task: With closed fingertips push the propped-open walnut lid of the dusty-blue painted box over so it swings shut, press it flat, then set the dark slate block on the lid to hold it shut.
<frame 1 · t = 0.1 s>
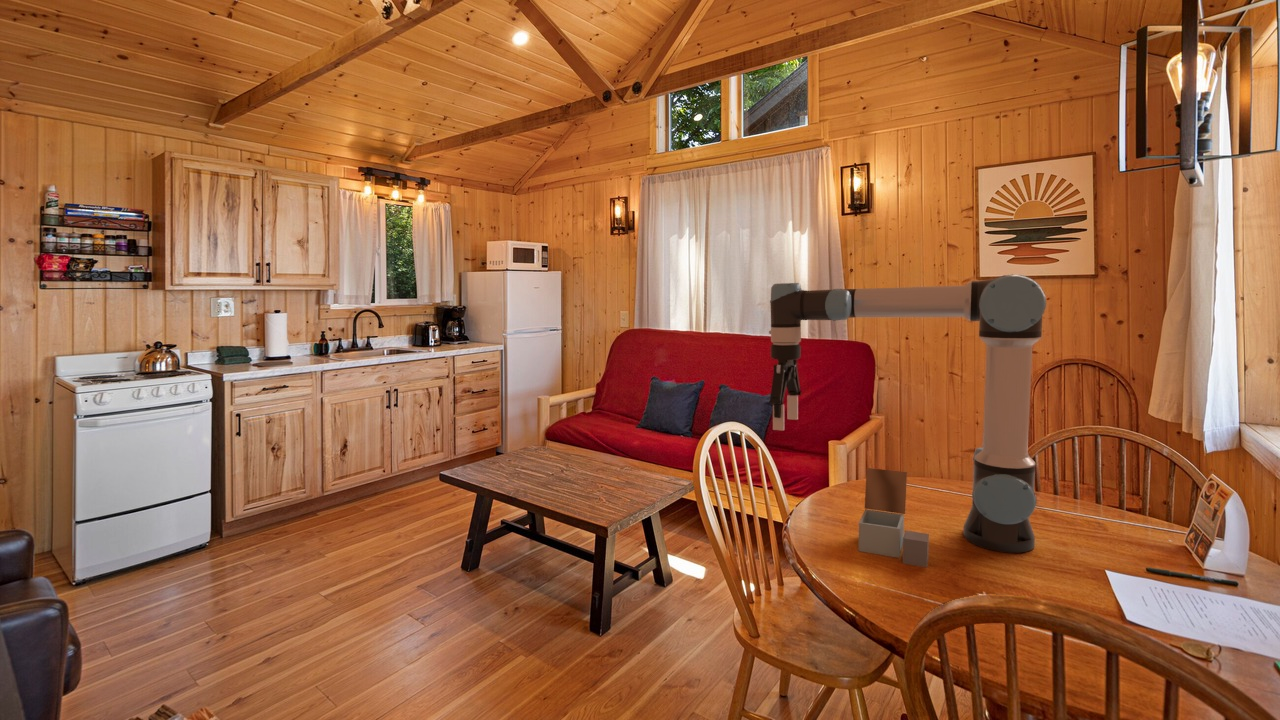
hand: (785, 424, 158), 28 cm above the table, fingers open, 13 cm apart
slate block: (915, 561, 139), on the table
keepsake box: (881, 546, 147), on the table
lid: (885, 490, 152), point 12 cm above the table, hinge at 105.0°
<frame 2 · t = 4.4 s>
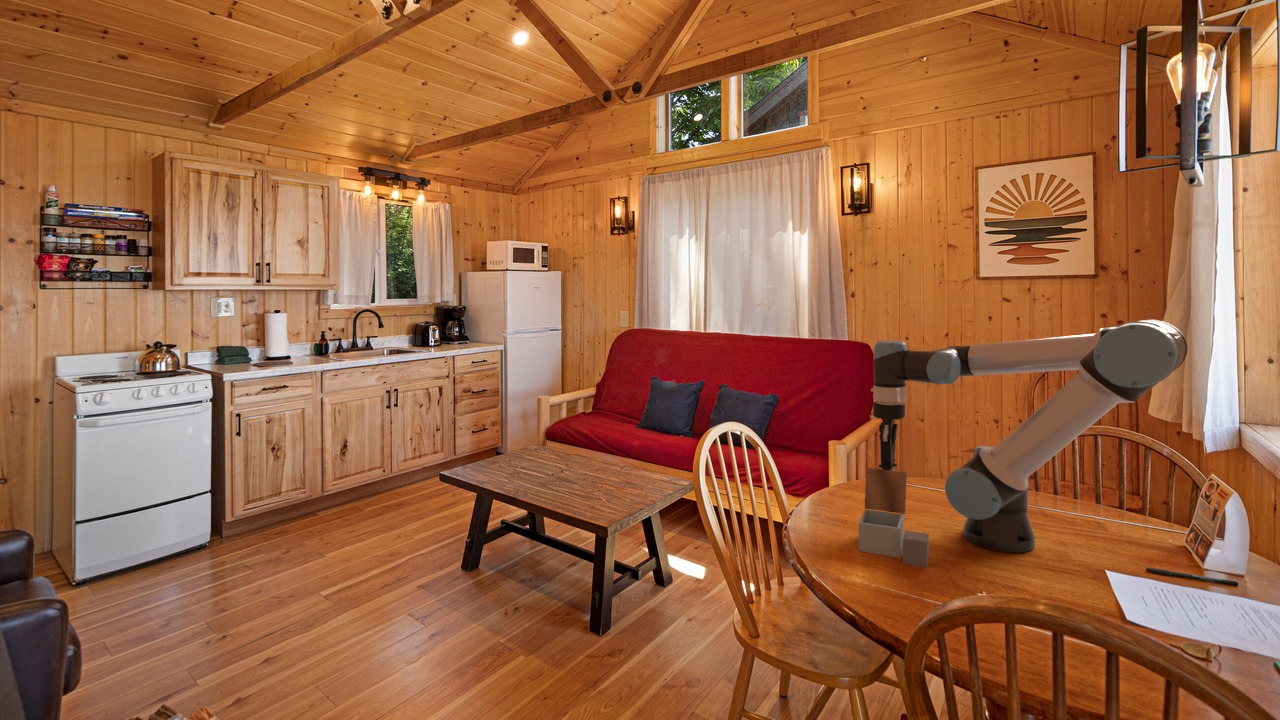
hand: (887, 491, 156), 10 cm above the table, fingers closed
lid: (885, 490, 152), point 12 cm above the table, hinge at 101.4°, touching gripper
everything else where it was.
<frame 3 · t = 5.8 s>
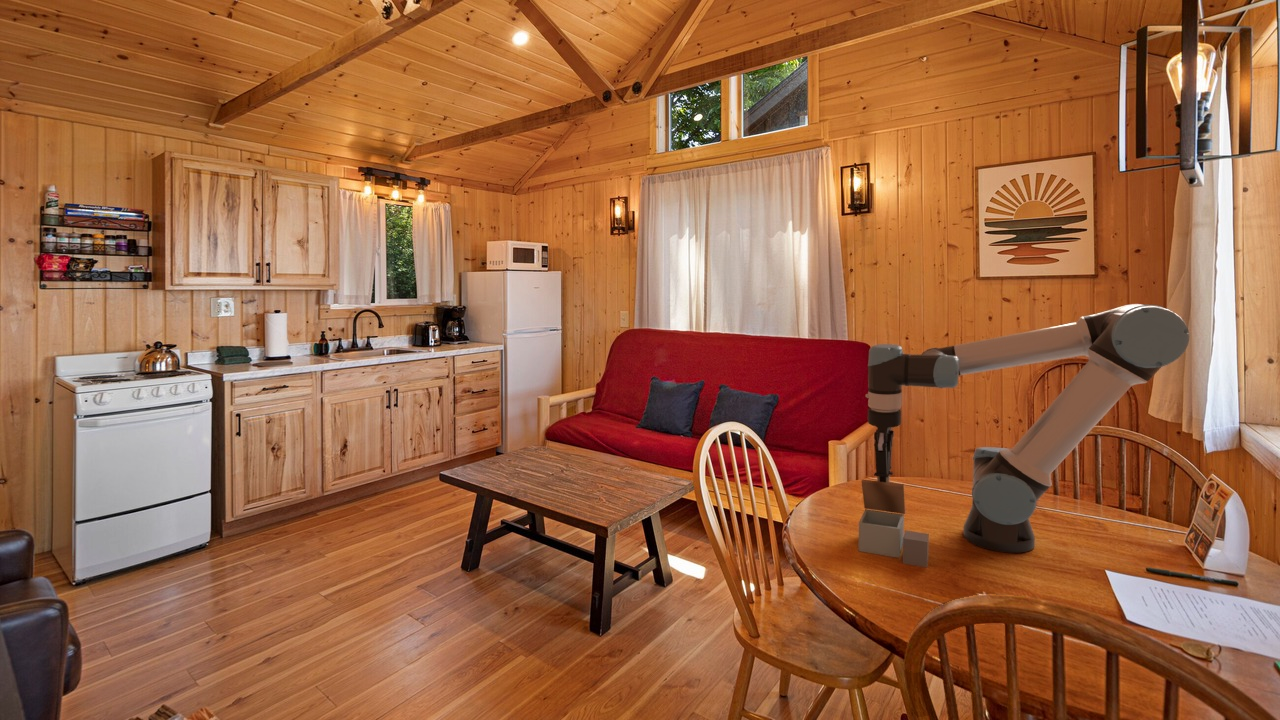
hand: (883, 500, 151), 10 cm above the table, fingers closed
lid: (883, 496, 148), point 12 cm above the table, hinge at 57.1°, touching gripper
everything else where it was.
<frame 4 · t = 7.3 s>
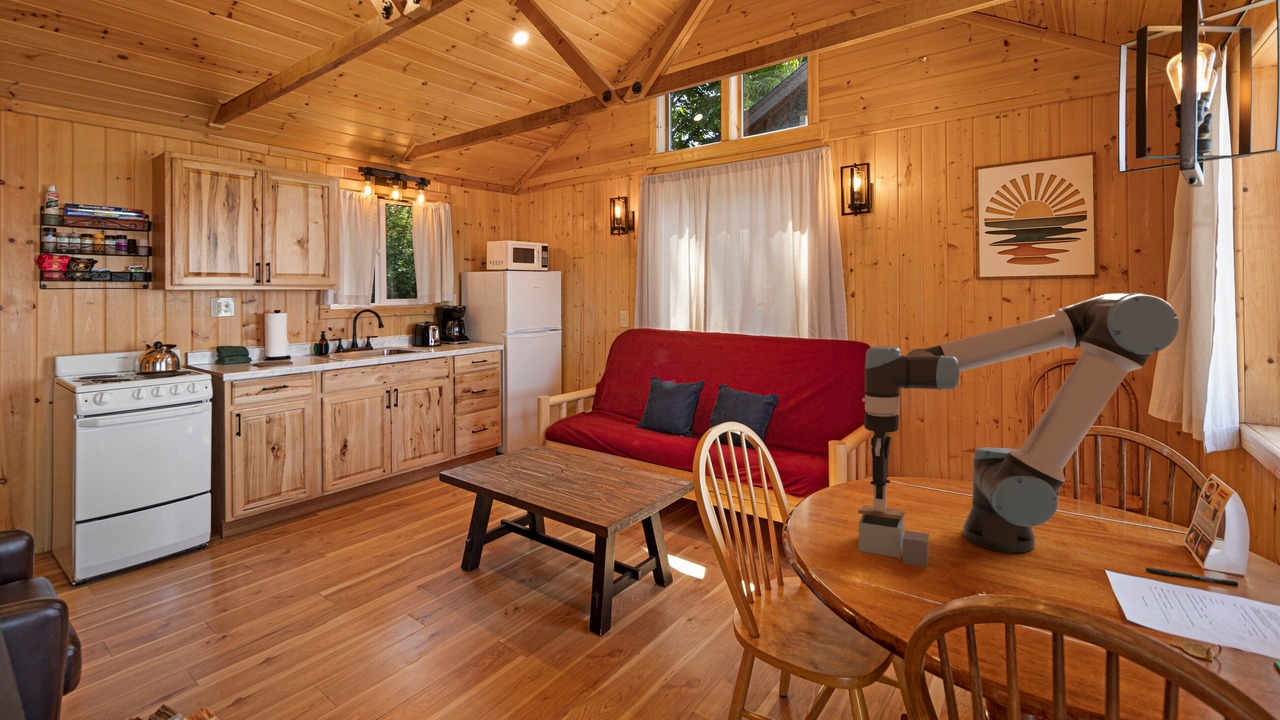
hand: (879, 510, 144), 10 cm above the table, fingers closed
lid: (881, 512, 147), point 9 cm above the table, hinge at 12.1°, touching gripper
everything else where it was.
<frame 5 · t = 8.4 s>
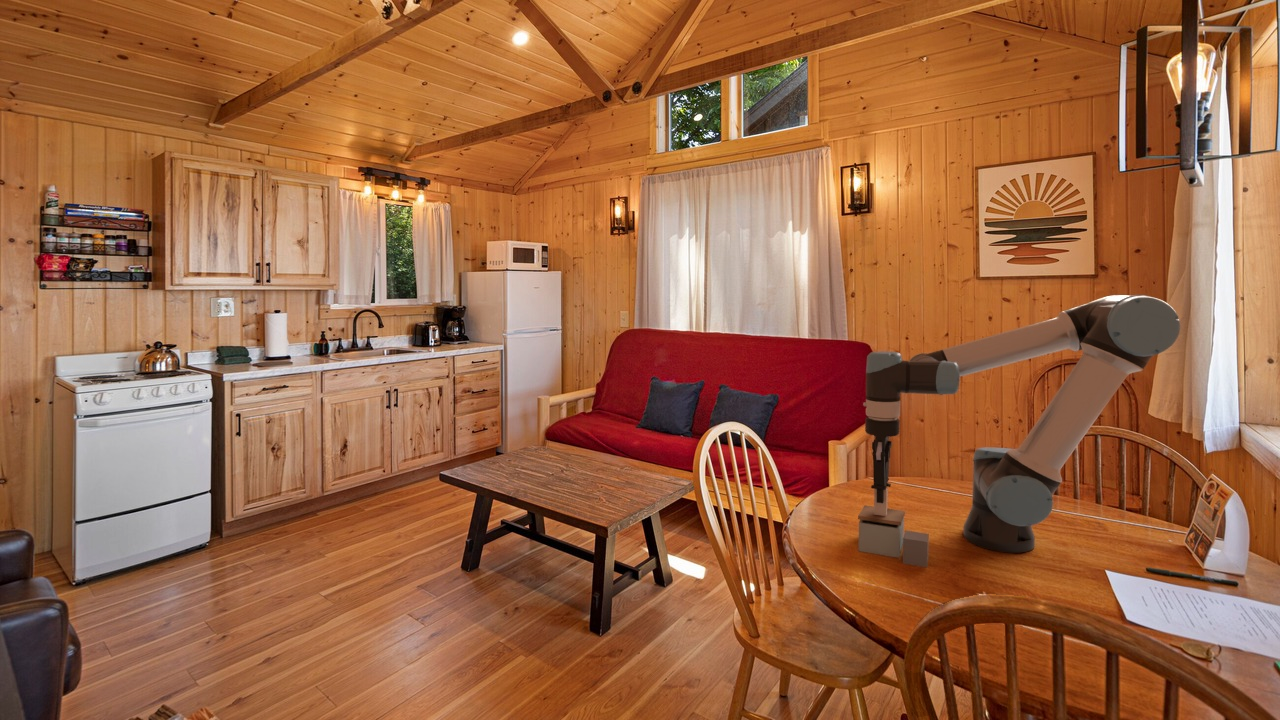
hand: (880, 514, 145), 9 cm above the table, fingers closed
lid: (881, 514, 147), point 8 cm above the table, hinge at 4.3°, touching gripper
everything else where it was.
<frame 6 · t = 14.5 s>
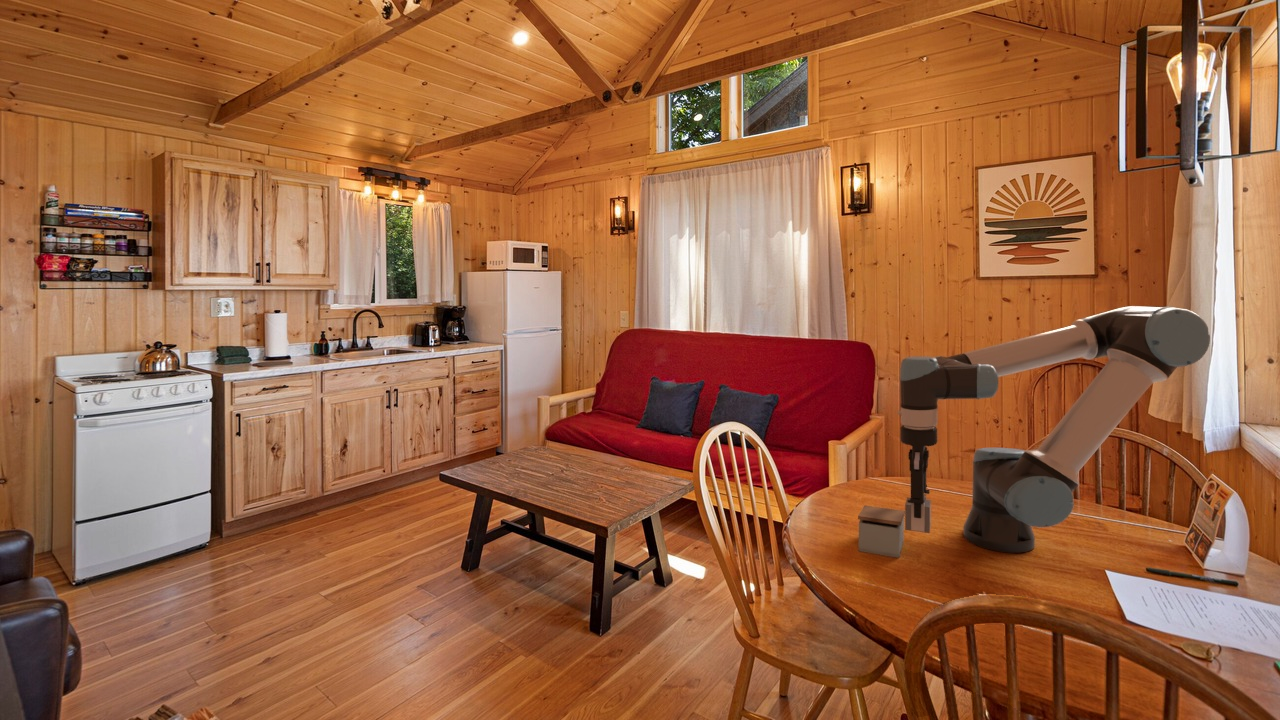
hand: (918, 525, 138), 8 cm above the table, fingers closed on slate block, 5 cm apart
slate block: (918, 527, 138), point 8 cm above the table, touching gripper
lid: (881, 514, 147), point 8 cm above the table, hinge at 4.3°
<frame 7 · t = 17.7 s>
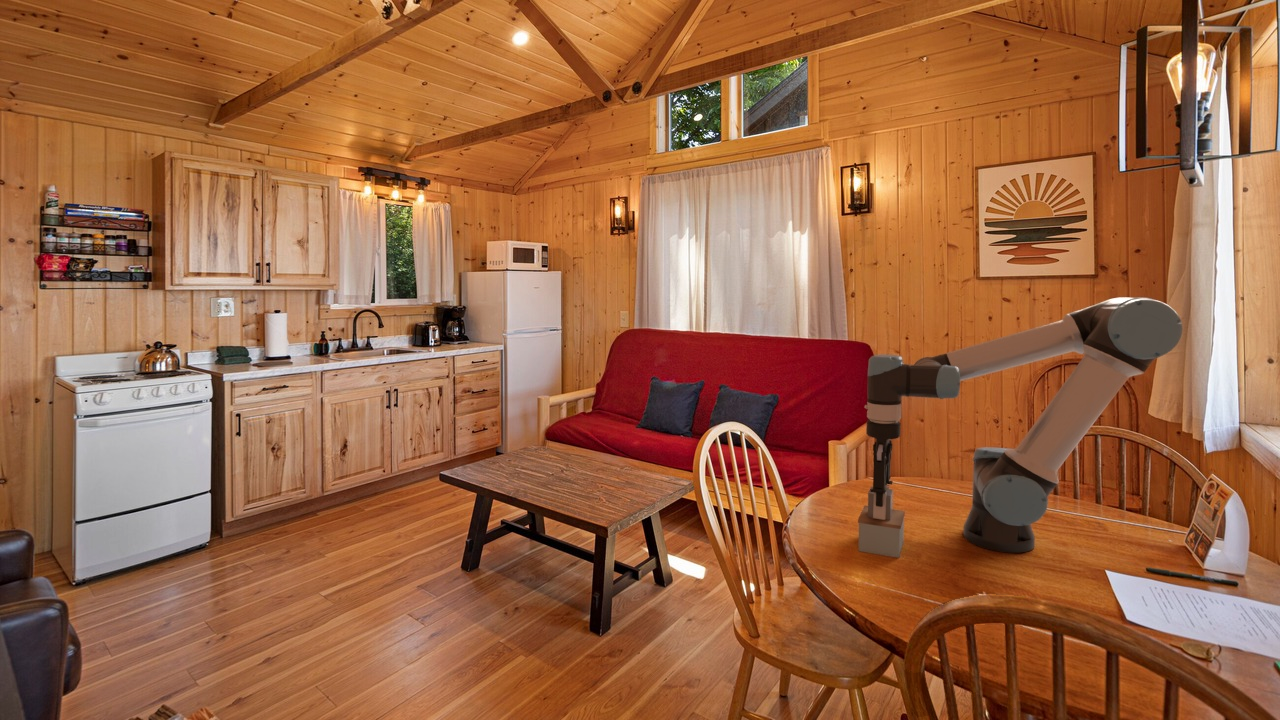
hand: (880, 514, 146), 8 cm above the table, fingers closed on lid, slate block, 5 cm apart
slate block: (880, 515, 146), point 8 cm above the table, touching gripper, lid
lid: (881, 516, 147), point 7 cm above the table, hinge at -0.6°, touching gripper, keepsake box, slate block
when the fingers open (8 cm above the table, at t = 17.9 s): slate block stays where it is, resting on lid.
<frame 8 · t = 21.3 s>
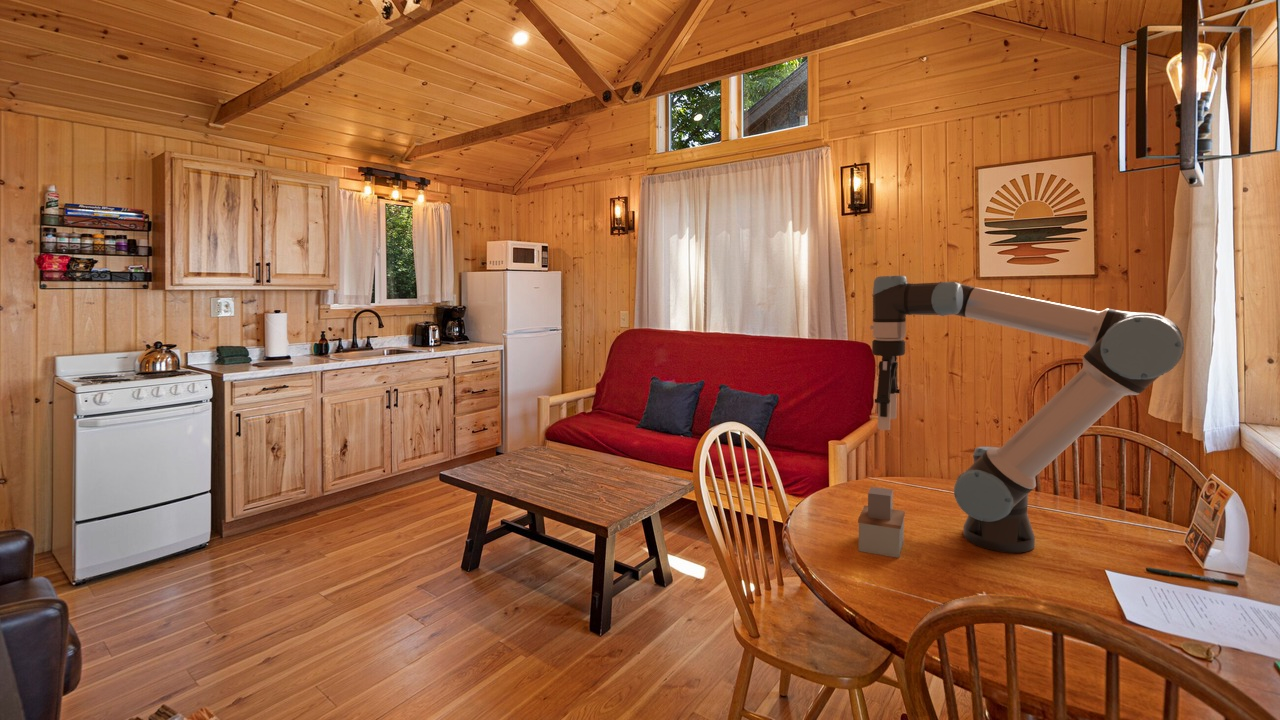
hand: (887, 424, 151), 29 cm above the table, fingers open, 13 cm apart
slate block: (880, 515, 146), point 8 cm above the table, touching lid
lid: (881, 516, 147), point 7 cm above the table, hinge at -0.6°, touching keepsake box, slate block
at the end: lid at -1° (first picture: +105°); slate block inside the target area on the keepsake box (0.3 cm from its centre), point 7.8 cm above the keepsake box's base; slate block tilted 1° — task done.
